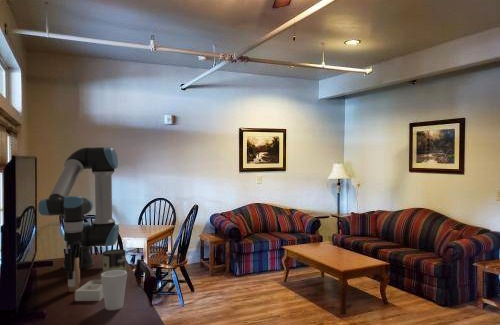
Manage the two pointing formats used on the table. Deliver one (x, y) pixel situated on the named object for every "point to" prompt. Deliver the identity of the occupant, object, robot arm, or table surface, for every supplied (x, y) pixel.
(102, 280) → the foam cup
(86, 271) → the table surface
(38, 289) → the table surface
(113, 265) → the coffee can
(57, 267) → the table surface
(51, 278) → the table surface
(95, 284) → the bore block
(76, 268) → the pin
